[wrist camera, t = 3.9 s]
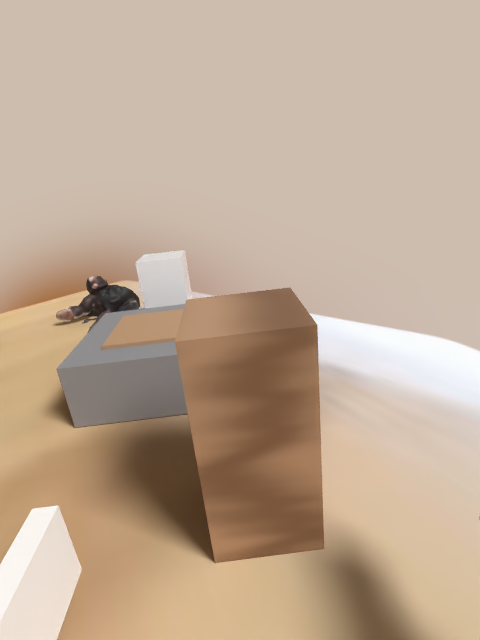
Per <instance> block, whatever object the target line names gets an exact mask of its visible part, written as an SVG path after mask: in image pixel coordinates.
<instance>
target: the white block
mask: <svg viewBox="0 0 480 640" xmlns="http://www.w3.org/2000/svg"><path fill="white" fill-rule="evenodd" d="M136 268H137V273H138V278H139V283H140V288H141V293H142V297H143V302H144V307H145V309H146V308H155V307H163V306H172V305H180V304H185V303H186V300H188V299H192V294H191V288H190V282H189V275H188V268H187V262H186V256H185V251H184V250H182V251H173V252H165V253H156V254H146V255H143V256H142V257H141V258H140V259H139V260H138V261H137V262H136Z"/></svg>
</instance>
